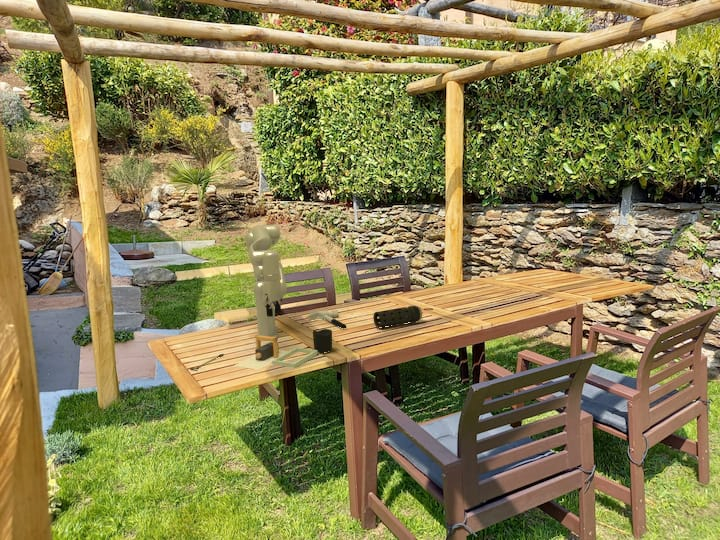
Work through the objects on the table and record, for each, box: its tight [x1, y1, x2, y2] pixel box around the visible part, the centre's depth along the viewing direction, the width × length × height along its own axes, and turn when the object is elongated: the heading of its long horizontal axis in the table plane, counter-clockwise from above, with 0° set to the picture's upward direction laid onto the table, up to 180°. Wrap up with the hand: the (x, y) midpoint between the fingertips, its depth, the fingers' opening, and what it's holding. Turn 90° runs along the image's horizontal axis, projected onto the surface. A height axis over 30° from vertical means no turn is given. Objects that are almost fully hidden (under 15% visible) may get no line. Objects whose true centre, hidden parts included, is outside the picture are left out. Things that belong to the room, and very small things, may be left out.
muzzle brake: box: [372, 305, 423, 329], centre depth 273 cm, size 10×28×10 cm, turn 117°
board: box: [233, 349, 290, 371], centre depth 221 cm, size 26×14×1 cm, turn 155°
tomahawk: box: [189, 353, 225, 372], centre depth 219 cm, size 21×7×1 cm, turn 156°
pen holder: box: [312, 328, 333, 353], centre depth 231 cm, size 9×9×10 cm
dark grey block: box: [255, 341, 280, 361], centre depth 224 cm, size 14×4×5 cm, turn 155°
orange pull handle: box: [255, 335, 279, 358], centre depth 223 cm, size 2×11×9 cm, turn 65°
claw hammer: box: [305, 309, 347, 329], centre depth 281 cm, size 5×22×30 cm
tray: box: [271, 347, 319, 369], centre depth 219 cm, size 20×12×2 cm, turn 155°
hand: (274, 314), depth 227 cm, fingers open, 5 cm apart
